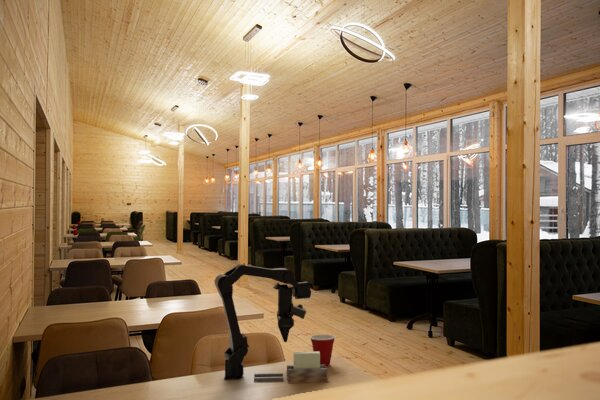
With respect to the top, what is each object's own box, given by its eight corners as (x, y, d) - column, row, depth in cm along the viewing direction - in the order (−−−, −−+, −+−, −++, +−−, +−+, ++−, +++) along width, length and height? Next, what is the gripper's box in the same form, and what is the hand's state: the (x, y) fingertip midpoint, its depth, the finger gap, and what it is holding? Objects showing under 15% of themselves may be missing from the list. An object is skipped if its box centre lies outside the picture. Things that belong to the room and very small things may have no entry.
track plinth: (287, 382, 167) (287, 372, 167) (286, 373, 177) (286, 363, 177) (327, 381, 168) (327, 371, 168) (324, 372, 178) (324, 362, 178)
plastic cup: (328, 359, 195) (328, 331, 196) (340, 367, 185) (340, 337, 186) (305, 362, 191) (305, 333, 192) (315, 370, 181) (316, 340, 182)
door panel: (293, 375, 171) (293, 353, 172) (293, 373, 174) (293, 351, 174) (320, 374, 172) (320, 353, 172) (319, 372, 174) (319, 351, 175)
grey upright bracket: (253, 381, 168) (253, 378, 169) (254, 376, 174) (254, 373, 174) (283, 380, 169) (283, 377, 169) (282, 375, 175) (282, 372, 175)
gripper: (307, 303, 174) (306, 345, 173) (303, 295, 192) (303, 332, 191) (278, 304, 173) (277, 345, 172) (277, 296, 191) (276, 333, 191)
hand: (285, 339), depth 182 cm, fingers open, 9 cm apart
